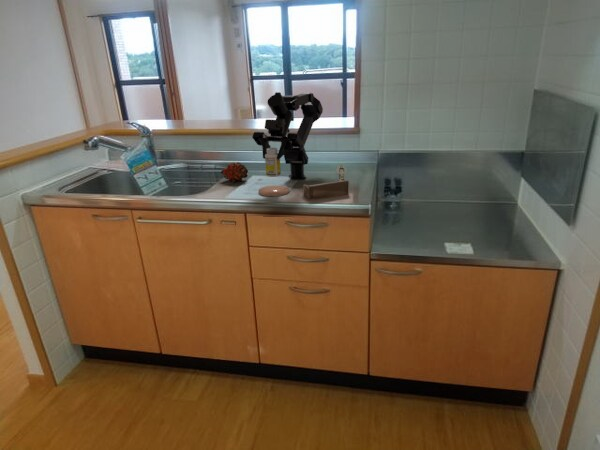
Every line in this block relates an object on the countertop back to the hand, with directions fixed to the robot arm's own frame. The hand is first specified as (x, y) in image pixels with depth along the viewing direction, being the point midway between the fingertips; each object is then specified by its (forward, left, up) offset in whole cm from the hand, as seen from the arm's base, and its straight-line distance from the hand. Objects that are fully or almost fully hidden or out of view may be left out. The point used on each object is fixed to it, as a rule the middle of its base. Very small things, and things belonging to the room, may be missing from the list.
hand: (270, 158), depth 154 cm
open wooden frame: (+8, +19, -13) cm, 25 cm away
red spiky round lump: (-22, -14, -14) cm, 29 cm away
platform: (-9, +29, -14) cm, 34 cm away
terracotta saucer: (-1, +1, -13) cm, 13 cm away
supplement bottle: (-1, +1, -7) cm, 7 cm away
